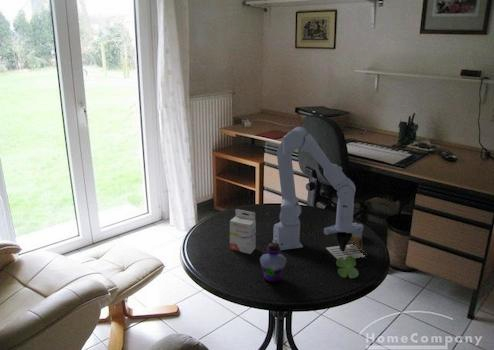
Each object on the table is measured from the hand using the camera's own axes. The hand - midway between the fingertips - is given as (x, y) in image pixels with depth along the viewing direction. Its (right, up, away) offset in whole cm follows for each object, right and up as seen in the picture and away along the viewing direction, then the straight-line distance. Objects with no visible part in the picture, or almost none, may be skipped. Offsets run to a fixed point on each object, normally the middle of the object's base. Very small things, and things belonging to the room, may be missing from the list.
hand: (342, 250), depth 148 cm
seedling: (-1, -4, -10) cm, 11 cm away
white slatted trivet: (+2, -1, +1) cm, 2 cm away
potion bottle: (-26, -6, -17) cm, 32 cm away
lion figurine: (+3, 0, +1) cm, 3 cm away
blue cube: (+7, +2, +12) cm, 14 cm away
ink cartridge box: (-36, 0, +3) cm, 36 cm away
